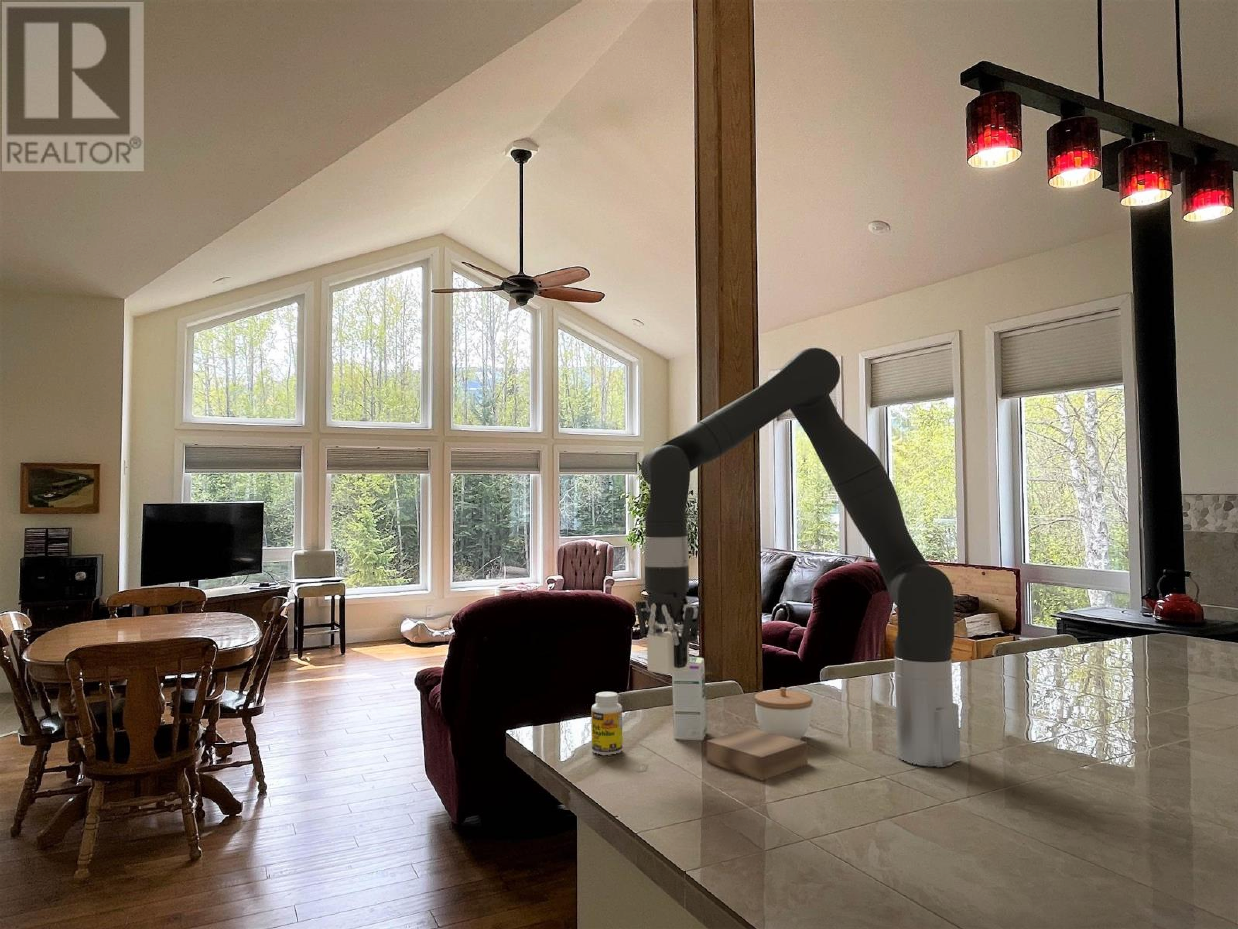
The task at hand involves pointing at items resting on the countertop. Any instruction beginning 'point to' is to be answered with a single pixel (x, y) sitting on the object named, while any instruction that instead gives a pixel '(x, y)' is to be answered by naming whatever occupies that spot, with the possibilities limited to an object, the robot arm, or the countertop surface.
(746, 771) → the walnut block
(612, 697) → the supplement bottle
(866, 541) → the robot arm
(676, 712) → the syrup box
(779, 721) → the lidded jar
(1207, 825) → the countertop surface
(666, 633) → the cream block
